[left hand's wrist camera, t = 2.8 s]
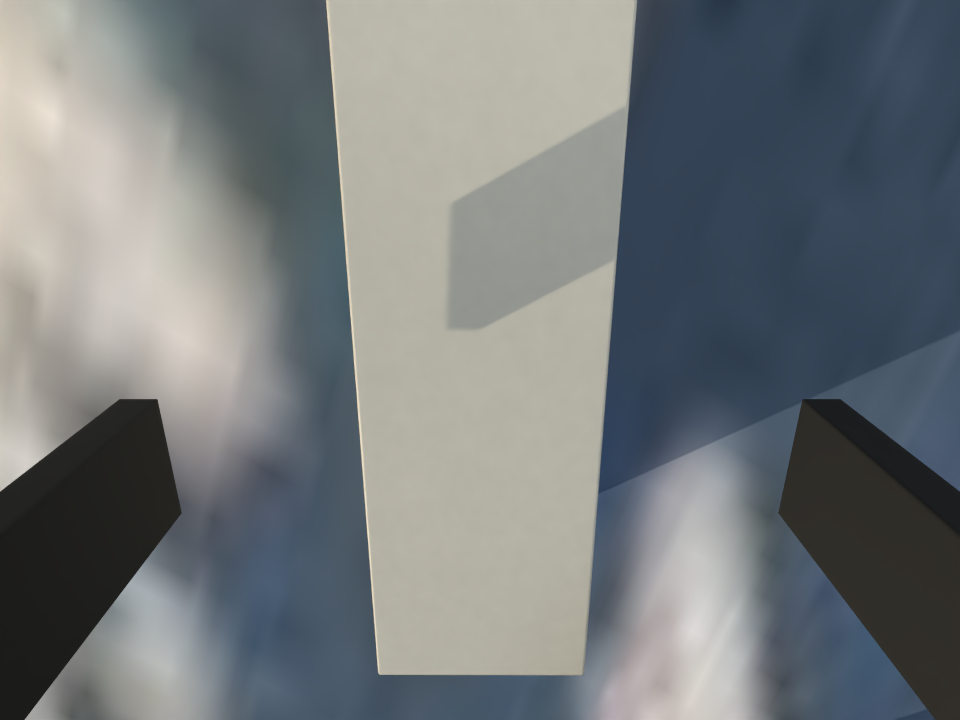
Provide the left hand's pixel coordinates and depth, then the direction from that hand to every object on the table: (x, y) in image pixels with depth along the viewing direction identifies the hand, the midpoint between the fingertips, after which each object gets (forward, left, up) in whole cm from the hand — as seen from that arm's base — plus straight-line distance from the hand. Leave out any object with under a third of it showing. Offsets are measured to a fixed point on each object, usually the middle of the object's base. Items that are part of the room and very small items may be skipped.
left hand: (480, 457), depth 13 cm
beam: (+33, +7, -10) cm, 35 cm away
